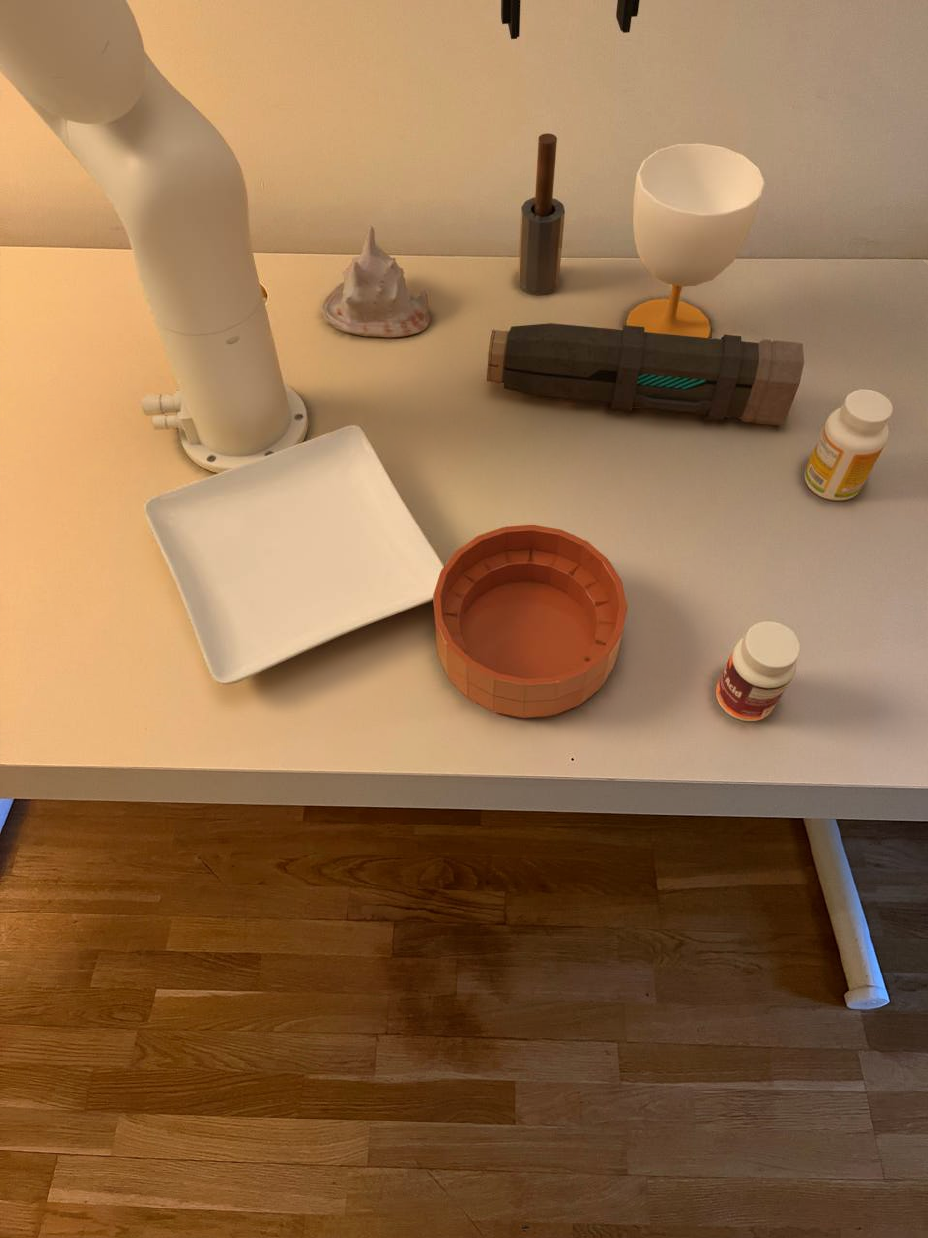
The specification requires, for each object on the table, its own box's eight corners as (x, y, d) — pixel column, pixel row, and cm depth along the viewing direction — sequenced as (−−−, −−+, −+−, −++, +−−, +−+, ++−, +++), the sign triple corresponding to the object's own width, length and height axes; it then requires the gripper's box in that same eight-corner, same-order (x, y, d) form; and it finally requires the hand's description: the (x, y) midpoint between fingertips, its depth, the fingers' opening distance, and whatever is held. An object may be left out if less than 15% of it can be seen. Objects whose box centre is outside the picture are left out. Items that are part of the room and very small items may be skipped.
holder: (520, 296, 101) (524, 222, 93) (516, 270, 103) (519, 197, 96) (560, 293, 101) (567, 220, 94) (555, 268, 104) (561, 194, 96)
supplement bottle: (866, 469, 86) (907, 393, 78) (854, 509, 84) (895, 434, 76) (810, 452, 88) (844, 375, 80) (796, 491, 85) (830, 415, 77)
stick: (531, 283, 101) (539, 143, 88) (529, 273, 102) (537, 133, 89) (547, 283, 101) (558, 142, 88) (545, 272, 102) (555, 132, 89)
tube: (498, 378, 98) (789, 378, 92) (491, 432, 96) (789, 436, 90) (483, 312, 88) (809, 308, 82) (475, 371, 86) (809, 371, 80)
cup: (616, 288, 101) (639, 138, 87) (722, 296, 100) (763, 146, 86) (610, 359, 95) (634, 210, 81) (723, 369, 94) (768, 220, 80)
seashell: (346, 272, 104) (335, 195, 96) (445, 291, 102) (443, 214, 94) (312, 328, 98) (298, 252, 91) (416, 349, 96) (411, 274, 89)
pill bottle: (708, 673, 75) (732, 618, 68) (765, 669, 75) (795, 613, 68) (722, 725, 72) (749, 674, 65) (781, 720, 72) (814, 668, 65)
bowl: (443, 727, 72) (440, 692, 67) (431, 573, 80) (428, 531, 75) (631, 712, 73) (642, 676, 68) (600, 561, 81) (608, 518, 76)
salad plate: (225, 707, 73) (215, 687, 70) (148, 521, 83) (137, 497, 80) (458, 608, 78) (459, 585, 75) (360, 445, 88) (357, 419, 85)
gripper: (695, -255, 67) (657, 2, 81) (462, -243, 67) (466, 13, 81) (717, -220, 63) (674, 44, 77) (470, -208, 63) (473, 55, 77)
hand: (568, 28), depth 79 cm, fingers open, 9 cm apart
